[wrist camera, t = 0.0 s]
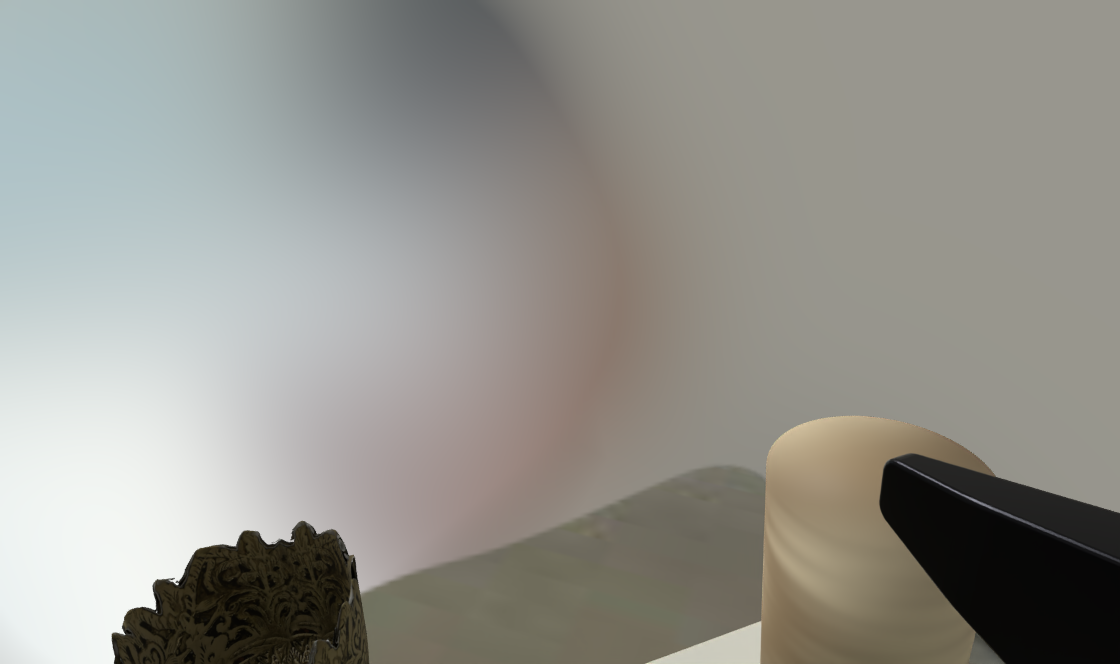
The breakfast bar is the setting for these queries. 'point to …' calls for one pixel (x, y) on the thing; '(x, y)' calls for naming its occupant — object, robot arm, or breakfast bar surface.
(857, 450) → the beech dowel
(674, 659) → the white square frame
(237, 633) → the cup
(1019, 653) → the robot arm
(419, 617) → the breakfast bar surface
